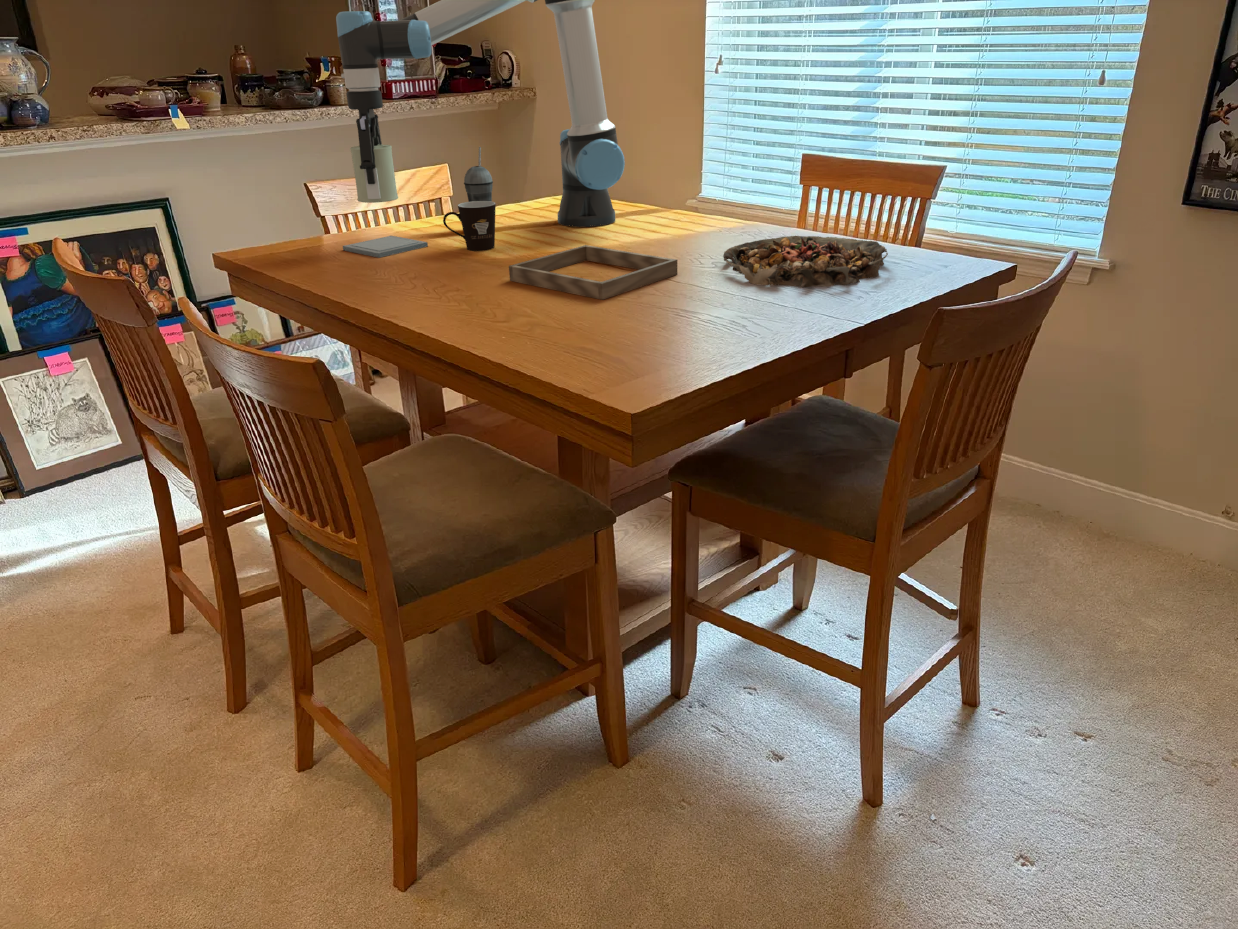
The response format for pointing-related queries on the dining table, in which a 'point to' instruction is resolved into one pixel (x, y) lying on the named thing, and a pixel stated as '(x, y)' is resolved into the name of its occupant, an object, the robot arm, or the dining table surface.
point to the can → (383, 170)
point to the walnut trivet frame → (539, 276)
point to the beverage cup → (478, 183)
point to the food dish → (806, 261)
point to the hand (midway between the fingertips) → (377, 195)
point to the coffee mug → (476, 224)
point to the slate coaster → (385, 246)
